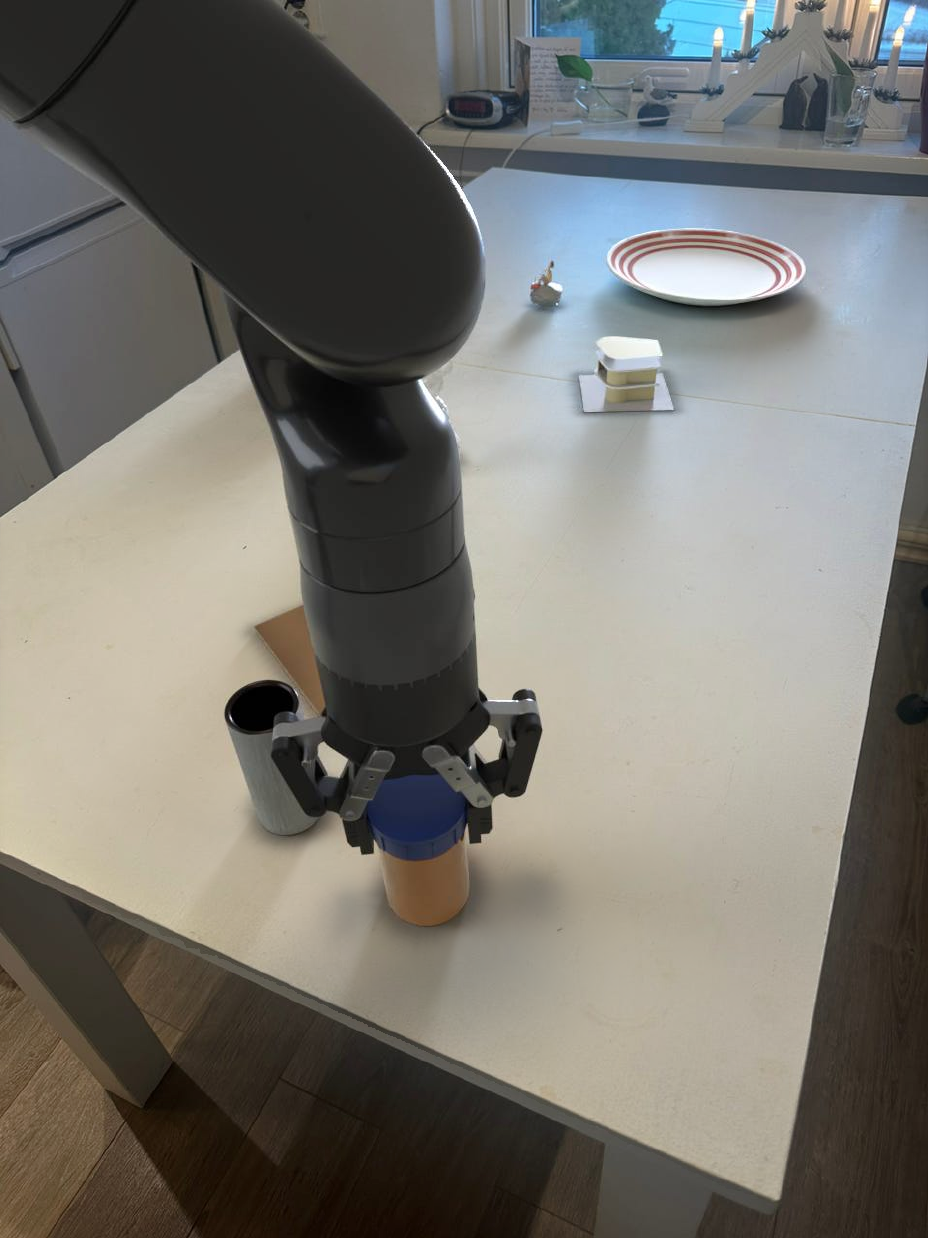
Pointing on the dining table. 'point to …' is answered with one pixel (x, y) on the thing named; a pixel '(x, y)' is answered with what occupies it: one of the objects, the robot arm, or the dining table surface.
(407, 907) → the honey jar
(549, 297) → the figurine
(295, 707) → the grey tumbler
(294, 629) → the cork coaster
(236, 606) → the dining table surface
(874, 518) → the dining table surface
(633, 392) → the stacked layers on plate
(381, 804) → the jar lid
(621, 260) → the dinner plate
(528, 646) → the dining table surface
